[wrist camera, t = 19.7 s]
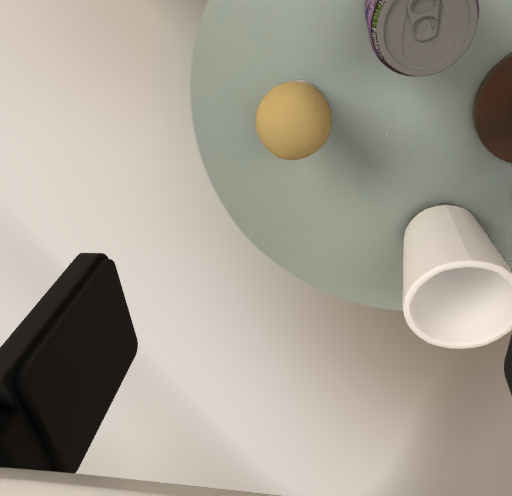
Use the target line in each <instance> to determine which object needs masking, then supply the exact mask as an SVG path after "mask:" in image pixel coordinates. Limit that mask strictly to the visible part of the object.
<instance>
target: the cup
mask: <svg viewBox="0 0 512 496" xmlns="http://www.w3.org/2000/svg"><path fill="white" fill-rule="evenodd" d="M403 310H404V317H405V319H406V321H407V323H408V325H409V327H410V328H411V329H412V330H413V332H414V333H415V334H416V335H418V336H419V337H420V338H422V339H423V340H425V341H426V342H428V343H430V344H434V345H437V346H440V347H447V348H454V349H461V348H472V347H478V346H484V345H487V344H489V343H491V342H493V341H495V340H497V339H499V338H501V337H502V336H504V335H505V334H507V333H508V332H509V331H511V330H512V271H511V269H510V268H509V266H508V265H507V263H506V262H505V260H504V259H503V257H502V256H501V255H500V253H499V252H498V250H497V249H496V247H495V246H494V244H493V243H492V241H491V240H490V239H489V237H488V236H487V234H486V233H485V231H484V230H483V228H482V227H481V225H480V224H479V223H478V221H477V220H476V219H475V217H474V216H473V215H472V214H471V213H470V212H469V211H467V210H466V209H464V208H461V207H457V206H454V205H451V204H439V205H436V206H434V207H431V208H428V209H425V210H424V211H422V212H420V213H419V214H417V215H416V216H414V217H413V218H412V219H411V220H410V222H409V223H408V226H407V228H406V231H405V234H404V260H403Z"/></svg>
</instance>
